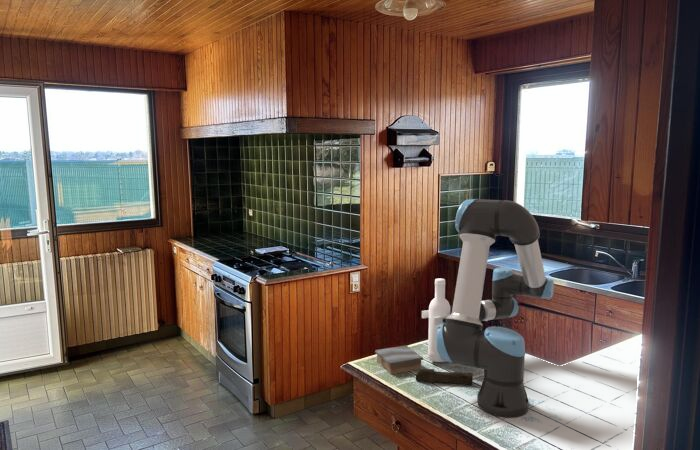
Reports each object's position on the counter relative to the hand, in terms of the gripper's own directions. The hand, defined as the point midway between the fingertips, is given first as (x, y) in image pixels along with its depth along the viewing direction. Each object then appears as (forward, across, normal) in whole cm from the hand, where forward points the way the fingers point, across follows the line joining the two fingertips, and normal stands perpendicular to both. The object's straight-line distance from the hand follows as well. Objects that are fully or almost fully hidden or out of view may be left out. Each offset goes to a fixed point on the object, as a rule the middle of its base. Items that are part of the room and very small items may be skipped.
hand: (428, 317), depth 184 cm
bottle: (-5, 0, -16) cm, 17 cm away
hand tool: (+2, -16, -18) cm, 24 cm away
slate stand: (+10, +3, -18) cm, 21 cm away
